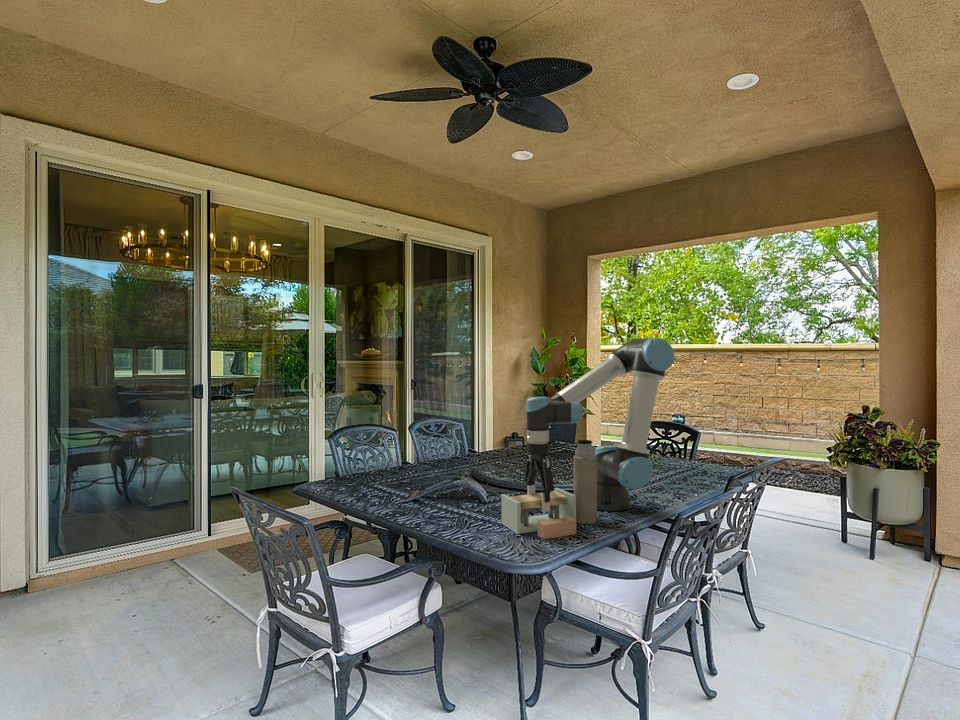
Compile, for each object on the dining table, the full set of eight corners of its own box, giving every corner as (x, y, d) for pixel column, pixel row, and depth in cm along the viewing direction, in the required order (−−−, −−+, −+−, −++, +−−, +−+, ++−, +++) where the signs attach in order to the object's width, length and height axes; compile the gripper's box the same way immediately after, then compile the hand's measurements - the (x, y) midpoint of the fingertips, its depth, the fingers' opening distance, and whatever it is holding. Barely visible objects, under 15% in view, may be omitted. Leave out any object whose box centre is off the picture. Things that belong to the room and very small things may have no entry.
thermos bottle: (571, 517, 194) (571, 438, 193) (593, 516, 194) (593, 438, 194) (576, 524, 186) (575, 442, 185) (599, 523, 186) (598, 442, 186)
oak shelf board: (555, 498, 193) (554, 491, 193) (567, 503, 186) (567, 496, 186) (509, 504, 186) (509, 496, 186) (520, 510, 178) (520, 502, 178)
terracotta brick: (569, 530, 179) (569, 516, 179) (576, 534, 175) (576, 520, 175) (537, 535, 174) (537, 521, 174) (543, 539, 171) (543, 525, 171)
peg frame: (557, 515, 196) (557, 487, 196) (576, 524, 185) (575, 495, 185) (501, 523, 187) (501, 494, 187) (517, 534, 176) (517, 503, 176)
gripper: (513, 438, 194) (514, 501, 194) (544, 447, 174) (545, 517, 174) (532, 437, 197) (532, 498, 197) (564, 446, 177) (565, 514, 177)
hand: (538, 507), depth 186 cm, fingers open, 9 cm apart
